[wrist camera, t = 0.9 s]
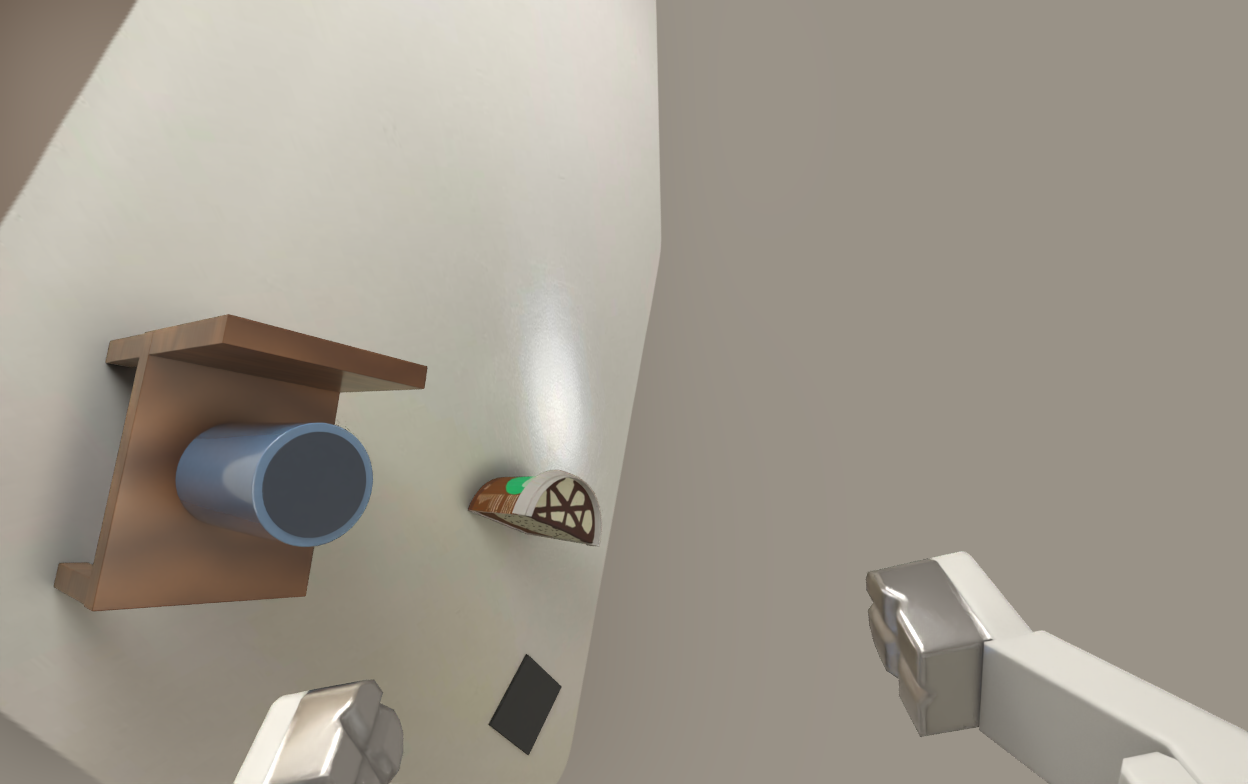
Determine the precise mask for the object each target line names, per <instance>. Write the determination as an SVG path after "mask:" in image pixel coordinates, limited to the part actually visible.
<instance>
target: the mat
mask: <svg viewBox="0 0 1248 784" xmlns="http://www.w3.org/2000/svg"><path fill="white" fill-rule="evenodd" d="M560 689H561V686H560V685H559V684H558V683H557V682H556V681H555V680H554V679H553V678H552V677H551V676H550V675H549V674H548V673H547V672H546V671H545V670H543V669H542V668H541V667H540V666H539V665H538V664H537V663H536V662H535V661H534V660H533V659H532V658H531V657H530V656H529V655H527V654H526V656H525V658H524V659H523V661H522V663H521V665H520V667H519V669H518V671H517V673H516V675H515V676H514V678H513V680H512V682H511V684H510V686H509V688H508V690H507V692H506V693H505V695H504V697H503V699H502V701H501V703H500V705H499V707H498V708H497V710H496V712H495V714H494V716H493V718H492V720H491V722H490V724H489V725H490V726H491V727H493V728H494V729H495V730H497V731H498V732H499V733H500V734H502V735H503V736H504V737H505V738H507V739H508V740H509V741H511V742H512V743H513V744H514V745H516V746H517V747H518V748H520V749H521V750H522V751H523V752H525V753H526V754H527V755H529V754H530V751H531V749H532V747H533V745H534V743H535V741H536V739H537V737H538V735H539V733H540V731H541V729H542V726H543V724H544V722H545V720H546V718H547V716H548V714H549V712H550V710H551V708H552V706H553V704H554V702H555V699H556V697H557V695H558V693H559V691H560Z"/></svg>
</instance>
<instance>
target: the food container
mask: <svg viewBox="0 0 1248 784" xmlns="http://www.w3.org/2000/svg"><path fill="white" fill-rule="evenodd" d="M468 510H469V511H471V512H474V513H476V514H478V515H481V516H483V517H486V518H488V519H491V520H493V521H496V522H498V523H501V524H503V525H506V526H508V527H511V528H513V529H515V530H518V531H520V532H523V533H525V534H530V535H536V536H541V537H547V538H553V539H559V540H565V541H570V542H576V543H582V544H586V545H589V546H599V545H600V540H601V532H602V519H601V511H600V506H599V503H598V500H597V497H596V495H595V493H594V492H593V490H592V489H591V487H590V486H589V485H588V484H587V483H586V482H584V481H583V480H582V479H580V478H579V477H578V476H575V475H573V474H570V473H567V472H565V471H561V470H549V471H546V472H543V473H541V474H539V475H538V476H534V477H500V478H495V479H492V480H491V481H489V482H487V483H486V484H484V485H483V486H482V487H481V488H480V489H479V490H478V492H477V493H476V494H475V496H474V498H473V499H472V501H471V503H470V506H469V508H468Z"/></svg>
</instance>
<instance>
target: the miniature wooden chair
mask: <svg viewBox="0 0 1248 784" xmlns="http://www.w3.org/2000/svg"><path fill="white" fill-rule="evenodd" d="M106 363H110V364H116V365H121V366H127V367H137V370H136V375H135V379H134V384H133V388H132V393H131V397H130V402H129V406H128V411H127V415H126V420H125V424H124V429H123V433H122V438H121V442H120V447H119V451H118V456H117V460H116V465H115V469H114V474H113V478H112V483H111V487H110V492H109V496H108V501H107V505H106V510H105V514H104V518H103V523H102V527H101V532H100V536H99V541H98V545H97V550H96V554H95V559H94V563H93V565H92V564H90V563H87V562H86V563H59V565H58V570H57V574H56V578H55V583H54V588H56V589H58V590H60V591H61V592H63V593H65V594H67V595H68V596H70V597H72V598H74V599H75V600H77V601H79V602H81V603H82V604H84V607H86V608H87V609H89V610H91V611H106V610H120V609H134V608H148V607H162V606H176V605H190V604H204V603H219V602H233V601H247V600H261V599H275V598H289V597H303V596H306V591H307V585H308V579H309V573H310V567H311V561H312V556H313V550H314V546H313V547H298V546H292V545H288V544H284V543H280V542H275V541H271V540H267V539H263V538H259V537H255V536H250V535H246V534H242V533H238V532H234V531H230V530H225V529H221V528H217V527H213V526H210V525H207V524H205V523H202V522H200V521H199V520H197V519H196V518H194V517H193V516H192V515H191V514H190V513H188V511H187V510H186V509H185V508H184V506H183V505H182V503H181V501H180V499H179V496H178V494H177V489H176V471H177V466H178V463H179V461H180V458H181V456H182V454H183V453H184V451H185V449H186V448H187V447H188V445H189V444H190V443H191V442H192V441H193V440H194V439H195V438H196V437H198V436H199V435H200V434H201V433H203V432H205V431H206V430H208V429H210V428H212V427H214V426H217V425H220V424H224V423H229V422H312V423H328V424H333V425H334V424H335V418H336V412H337V406H338V400H339V394H340V392H364V391H389V390H413V389H424V388H425V381H426V374H427V366H424V365H420V364H416V363H412V362H408V361H405V360H401V359H397V358H393V357H389V356H386V355H382V354H378V353H374V352H370V351H367V350H363V349H359V348H355V347H351V346H348V345H344V344H340V343H336V342H332V341H329V340H325V339H321V338H317V337H313V336H310V335H306V334H302V333H298V332H294V331H291V330H287V329H283V328H279V327H275V326H272V325H268V324H264V323H260V322H256V321H253V320H249V319H245V318H241V317H237V316H234V315H230V314H228V315H223V316H218V317H214V318H209V319H204V320H200V321H195V322H191V323H186V324H181V325H177V326H172V327H168V328H163V329H158V330H154V331H149V332H145V334H141V335H136V336H132V337H127V338H122V339H118V340H113V341H110V344H109V349H108V353H107V357H106Z"/></svg>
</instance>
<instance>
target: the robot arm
mask: <svg viewBox="0 0 1248 784" xmlns="http://www.w3.org/2000/svg"><path fill="white" fill-rule="evenodd" d="M866 590H867V592H868V594H869V596H870V597H871V599H872V601H873V604H872V605H871V607H870V608H869V609H868V616H869V626H870V629H871V633H872V637H873V641H874V644H875V647H876V649H877V652H878V654H879V657H880V659H881V661H882V663H883V665H884V667H885V669H886V671H888V672H889V673H891V674H892V675H894V676H895V677H897V678H898V679H899V696H900V698H901V700H902V702H903V704H904V706H905V708H906V710H907V712H908V714H909V716H910V718H911V720H912V722H913V724H914V726H915V728H916V730H917V731H918V734H919V735H920V737H922V736H928V735H934V734H940V733H946V732H952V731H958V730H964V729H969V728H976V727H979V730H980V731H981V732H982V733H984V734H985V735H986V736H987V737H989V738H990V739H991V740H993V741H994V742H995V743H997V744H998V745H999V746H1000V747H1002V748H1003V749H1004V750H1006V751H1007V752H1008V753H1010V754H1011V755H1012V756H1014V757H1015V758H1016V759H1017V760H1019V761H1020V762H1021V763H1023V764H1024V765H1025V766H1027V767H1028V768H1029V769H1031V770H1032V771H1033V772H1034V773H1036V774H1037V775H1038V776H1040V777H1041V778H1042V779H1044V780H1045V781H1046V782H1047V783H1049V784H1248V731H1246V730H1243V729H1241V728H1239V727H1237V726H1235V725H1233V724H1231V723H1229V722H1227V721H1225V720H1223V719H1221V718H1219V717H1217V716H1215V715H1213V714H1211V713H1209V712H1207V711H1205V710H1203V709H1201V708H1199V707H1197V706H1195V705H1193V704H1191V703H1189V702H1187V701H1185V700H1183V699H1181V698H1179V697H1177V696H1175V695H1173V694H1171V693H1169V692H1167V691H1164V690H1163V689H1161V688H1159V687H1157V686H1155V685H1152V684H1151V683H1149V682H1147V681H1144V680H1142V679H1140V678H1139V677H1136V676H1135V675H1132V674H1131V673H1128V672H1126V671H1124V670H1122V669H1120V668H1118V667H1116V666H1114V665H1112V664H1110V663H1108V662H1106V661H1104V660H1102V659H1100V658H1098V657H1096V656H1094V655H1092V654H1090V653H1088V652H1086V651H1084V650H1082V649H1080V648H1078V647H1076V646H1074V645H1072V644H1070V643H1068V642H1066V641H1064V640H1062V639H1060V638H1058V637H1056V636H1054V635H1052V634H1050V633H1048V632H1046V631H1044V630H1042V631H1036V632H1032V630H1031V629H1030V628H1029V627H1028V625H1027V624H1026V623H1025V622H1024V621H1023V619H1022V618H1021V617H1020V616H1019V614H1018V613H1017V612H1016V611H1015V609H1014V608H1013V607H1012V606H1011V604H1010V603H1009V602H1008V601H1007V600H1006V598H1005V597H1004V596H1003V595H1002V593H1001V592H1000V591H999V590H998V588H997V587H996V586H995V585H994V583H993V582H992V581H991V580H990V579H989V577H988V576H987V575H986V574H985V572H984V571H983V570H982V569H981V567H980V566H979V565H978V564H977V562H976V561H975V560H974V559H973V558H972V556H971V555H970V554H968V553H966V552H964V551H961V552H956V553H952V554H947V555H943V556H939V557H934V558H931V559H923V560H919V561H915V562H910V563H906V564H901V565H897V566H893V567H888V568H884V569H879V570H875V571H870V572H868V573H867V576H866ZM382 694H383V692H382V690H381V689H380V687H379V686H378V684H377V683H376V682H375V680H362V681H357V682H352V683H346V684H341V685H335V686H330V687H325V688H319V689H314V690H310V691H305V692H300V693H295V694H290V695H284V696H281V697H280V698H279V699H277V700H276V701H275V702H274V703H273V704H272V706H271V707H270V709H269V711H268V713H267V715H266V718H265V720H264V722H263V724H262V726H261V728H260V730H259V732H258V734H257V736H256V738H255V740H254V742H253V744H252V746H251V748H250V750H249V752H248V754H247V756H246V758H245V760H244V762H243V764H242V767H241V769H240V771H239V773H238V775H237V777H236V779H235V781H234V783H233V784H389V782H390V781H391V780H392V779H393V777H394V776H395V775H396V774H397V772H398V771H399V768H400V764H401V760H402V755H403V730H402V727H401V723H400V719H399V718H398V716H397V714H396V713H395V711H394V710H393V709H391V708H389V707H387V706H385V705H383V704H381V703H380V701H381V697H382Z"/></svg>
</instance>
